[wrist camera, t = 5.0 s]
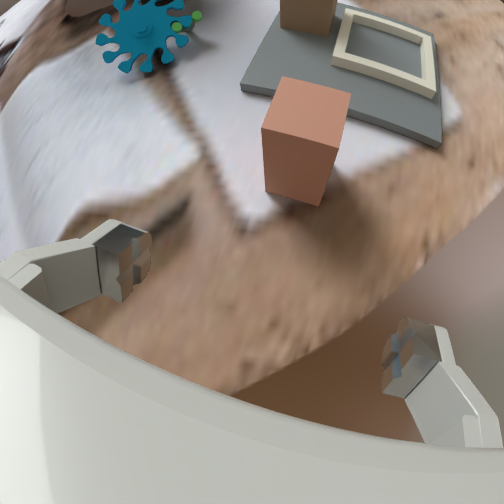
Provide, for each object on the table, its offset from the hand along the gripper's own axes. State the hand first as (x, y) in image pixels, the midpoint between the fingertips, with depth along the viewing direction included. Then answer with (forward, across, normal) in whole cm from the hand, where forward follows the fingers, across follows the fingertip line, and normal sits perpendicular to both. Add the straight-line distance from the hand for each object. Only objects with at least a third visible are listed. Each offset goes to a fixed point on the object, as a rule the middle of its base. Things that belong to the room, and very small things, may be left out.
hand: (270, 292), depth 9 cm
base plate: (+27, +1, +10) cm, 29 cm away
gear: (+23, -20, +7) cm, 31 cm away
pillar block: (+15, -1, -1) cm, 15 cm away
